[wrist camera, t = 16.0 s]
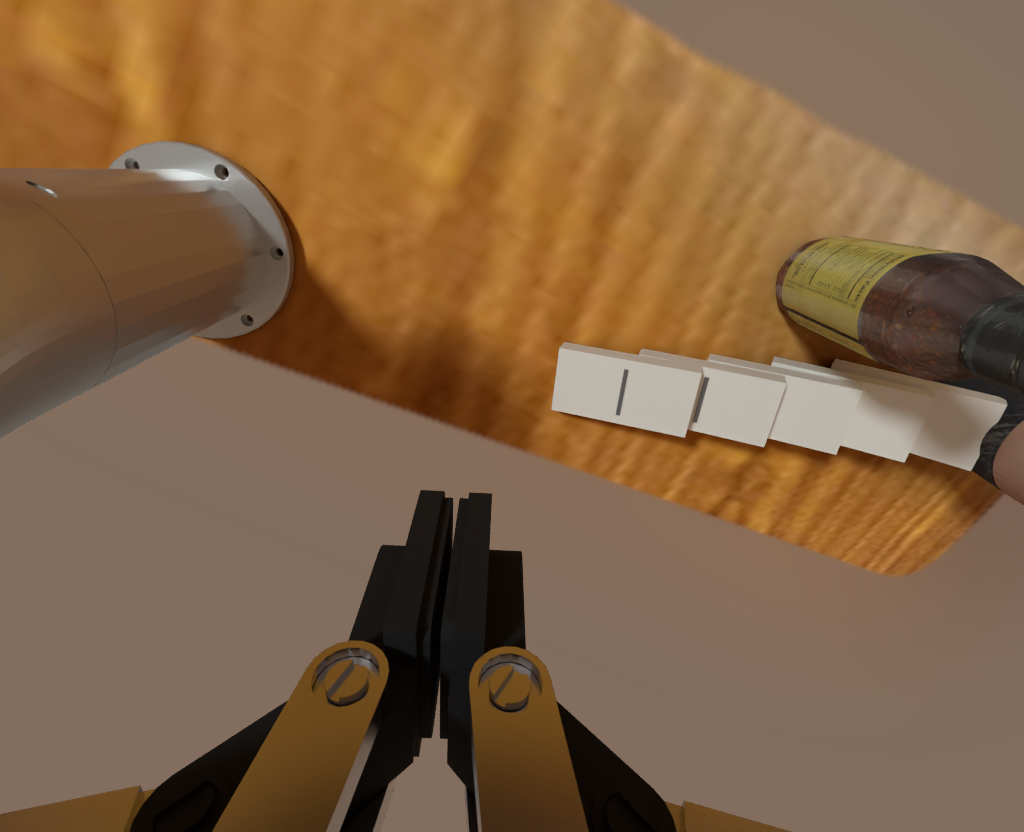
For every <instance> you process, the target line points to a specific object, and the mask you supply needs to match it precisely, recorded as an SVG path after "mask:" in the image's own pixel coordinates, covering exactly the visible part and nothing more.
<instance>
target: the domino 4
mask: <svg viewBox="0 0 1024 832" xmlns="http://www.w3.org/2000/svg"><path fill="white" fill-rule="evenodd" d="M771 366H775V367H780V368H785V369H790V370H795V371H800V372H805V373H810V374H815V375H821V376H826V377H831V378H836V379H841V380H846V381H851V382H856V383H860V385H861V388H862V390H863V392H862V394H861V397H860V399H859V401H858V404H857V406H856V409H855V411H854V413H853V416H852V418H851V421H850V423H849V425H848V428H847V430H846V432H845V435H844V437H843V440H842V442H841V444H840V445H841V446H844V447H848V448H852V449H856V450H859V451H863V452H867V453H870V454H874V455H878V456H881V457H885V458H889V459H892V460H896V461H900V462H903V463H905V461H906V458H907V456H908V454H909V452H910V450H911V448H912V446H913V444H914V442H915V440H916V438H917V436H918V434H919V432H920V430H921V428H922V426H923V424H924V422H925V420H926V418H927V416H928V414H929V412H930V410H931V408H932V406H933V404H934V402H935V400H936V396H935V394H934V392H933V391H932V390H928V389H923V388H918V387H914V386H909V385H904V384H900V383H895V382H891V381H886V380H881V379H877V378H872V377H867V376H863V375H858V374H853V373H849V372H844V371H840V370H835V369H830V368H826V367H821V366H816V365H812V364H807V363H802V362H798V361H793V360H788V359H784V358H779V357H775V356H774V359H773V361H772V364H771Z"/></svg>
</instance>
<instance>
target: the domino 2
mask: <svg viewBox="0 0 1024 832" xmlns="http://www.w3.org/2000/svg"><path fill="white" fill-rule="evenodd" d="M639 355H641V356H646V357H652V358H658V359H664V360H669V361H675V362H681V363H686V364H692V365H698V366H702V376H701V379H700V383H699V387H698V391H697V395H696V398H695V402H694V406H693V410H692V413H691V417H690V421H689V425H688V428H687V430H692V431H696V432H700V433H705V434H709V435H713V436H718V437H722V438H726V439H730V440H735V441H739V442H743V443H748V444H752V445H756V446H760V447H764V446H765V444H766V441H767V438H768V435H769V432H770V430H771V427H772V424H773V421H774V418H775V415H776V413H777V410H778V407H779V404H780V401H781V398H782V396H783V393H784V390H785V387H786V384H787V382H786V379H785V376H783V375H778V374H772V373H767V372H762V371H757V370H752V369H746V368H741V367H736V366H731V365H726V364H720V363H715V362H710V361H705V360H700V359H694V358H689V357H684V356H679V355H674V354H668V353H663V352H658V351H653V350H648V349H641V351H640V353H639Z"/></svg>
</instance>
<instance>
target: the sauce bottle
mask: <svg viewBox="0 0 1024 832" xmlns="http://www.w3.org/2000/svg"><path fill="white" fill-rule="evenodd" d="M776 295H777V301H778V305H779V307H780V308H781V309H782V311H783V312H784V313H785V314H787V315H788V316H789V317H791V318H792V319H793V320H794V321H795V322H797V323H798V324H799V325H801V326H803V327H805V328H807V329H810V330H812V331H814V332H816V333H818V334H820V335H822V336H824V337H826V338H828V339H830V340H832V341H835V342H837V343H839V344H841V345H843V346H845V347H847V348H849V349H851V350H853V351H855V352H857V353H859V354H861V355H864V356H866V357H868V358H870V359H872V360H874V361H876V362H878V363H881V364H883V365H886V366H889V367H894V368H896V369H898V370H900V371H902V372H904V373H906V374H908V375H910V376H913V377H916V378H920V379H924V380H929V381H933V380H943V381H951V382H955V381H959V380H964V379H968V378H978V379H980V380H983V381H986V382H990V383H995V384H998V385H1000V386H1002V387H1005V388H1008V389H1010V390H1013V391H1016V392H1018V393H1021V394H1022V395H1023V396H1024V286H1023V285H1022V284H1020V283H1019V282H1018V281H1016V280H1015V279H1014V278H1012V277H1011V276H1010V275H1008V274H1007V273H1006V272H1004V271H1003V270H1002V269H1000V268H999V267H998V266H996V265H995V264H993V263H992V262H990V261H988V260H986V259H983V258H981V257H978V256H974V255H969V254H963V253H956V252H950V251H942V250H935V249H927V248H922V247H914V246H907V245H900V244H894V243H887V242H881V241H874V240H867V239H860V238H853V237H845V236H837V237H830V238H824V239H818V240H814V241H811V242H808V243H806V244H804V245H803V246H802V247H801V248H799V249H798V250H797V251H796V252H794V253H793V254H792V255H791V257H789V259H788V260H787V261H786V262H785V263H784V265H783V267H782V268H781V269H780V271H779V273H778V277H777V283H776Z"/></svg>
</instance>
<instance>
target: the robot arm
mask: <svg viewBox="0 0 1024 832" xmlns="http://www.w3.org/2000/svg"><path fill="white" fill-rule="evenodd" d="M138 164H139V167H138ZM226 168H227V169H228V172H229V176H228V175H227V174H226V173H225V169H226ZM279 248H280V249H281V250H282V251H283V255H281V254H280V253H279ZM294 266H295V265H294V252H293V245H292V241H291V237H290V234H289V230H288V227H287V225H286V223H285V221H284V218H283V216H282V214H281V212H280V210H279V208H278V207H277V205H276V204H275V202H274V201H273V199H272V198H271V196H270V195H269V193H268V192H267V191H266V190H265V189H264V187H263V186H262V185H261V184H260V183H259V182H258V181H257V180H256V179H255V177H253V176H252V175H251V174H250V173H249V172H247V171H246V170H245V169H244V168H242V167H241V166H240V165H239V164H238V163H236V162H234V161H232V160H231V159H229V158H227V157H226V156H224V155H222V154H220V153H219V152H216V151H213V150H211V149H208V148H205V147H203V146H200V145H195V144H189V143H183V142H169V141H160V142H153V143H146V144H142V145H140V146H137V147H135V148H133V149H130V150H128V151H126V152H125V153H124V154H122V155H121V156H120V157H119V158H117V159H116V160H115V161H113V163H112V164H111V165H110V167H109V168H108V169H50V168H0V439H1V438H2V437H4V436H6V435H7V434H9V433H10V432H12V431H14V430H15V429H17V428H19V427H21V426H22V425H24V424H26V423H28V422H29V421H31V420H33V419H35V418H37V417H38V416H40V415H42V414H44V413H46V412H48V411H49V410H51V409H53V408H55V407H57V406H59V405H61V404H63V403H64V402H66V401H68V400H70V399H72V398H74V397H76V396H78V395H81V394H82V393H84V392H86V391H88V390H90V389H92V388H94V387H96V386H98V385H100V384H102V383H103V382H105V381H107V380H109V379H111V378H113V377H115V376H117V375H119V374H121V373H123V372H125V371H127V370H128V369H130V368H132V367H134V366H136V365H138V364H140V363H142V362H144V361H145V360H147V359H149V358H151V357H153V356H155V355H157V354H159V353H161V352H163V351H165V350H167V349H169V348H170V347H172V346H174V345H176V344H178V343H180V342H182V341H184V340H186V339H188V338H190V337H191V336H193V335H194V336H199V337H206V338H231V337H235V336H240V335H244V334H246V333H248V332H251V331H253V330H255V329H257V328H259V327H260V326H262V325H263V324H265V323H266V322H268V321H269V320H270V319H271V318H272V317H273V316H274V315H275V314H276V313H277V312H278V311H279V310H280V309H281V307H282V305H283V304H284V302H285V300H286V299H287V297H288V294H289V291H290V288H291V285H292V282H293V274H294ZM250 316H251V317H252V318H253V320H252V319H251V318H250ZM491 503H492V494H488V493H469V499H465V498H460V501H459V507H458V514H457V521H456V528H455V536H454V542H453V548H452V535H453V498H445V492H444V491H426V490H421V492H420V495H419V498H418V502H417V506H416V509H415V513H414V517H413V520H412V524H411V528H410V531H409V535H408V539H407V542H406V546H394V545H392V546H391V545H382V546H381V548H380V550H379V552H378V555H377V558H376V561H375V564H374V567H373V570H372V573H371V576H370V579H369V582H368V585H367V588H366V591H365V594H364V597H363V600H362V603H361V605H360V608H359V611H358V614H357V617H356V621H355V623H354V626H353V629H352V632H351V635H350V638H349V641H347V642H342V643H338V644H336V645H333V646H331V647H329V648H327V649H325V650H324V651H323V652H321V653H320V654H319V655H318V656H316V657H315V658H314V659H313V661H312V662H311V663H310V665H309V666H308V667H307V669H306V670H305V672H304V674H303V675H302V677H301V679H300V681H299V682H298V684H297V686H296V688H295V689H294V691H293V693H292V695H291V696H290V698H289V700H288V701H286V702H285V703H283V704H282V705H280V706H279V707H277V708H275V709H274V710H272V711H271V712H269V713H268V714H266V715H265V716H263V717H262V718H260V719H258V720H257V721H255V722H254V723H253V724H251V725H249V726H248V727H246V728H245V729H243V730H242V731H240V732H239V733H237V734H235V735H234V736H232V737H231V738H229V739H228V740H226V741H225V742H223V743H222V744H220V745H218V746H217V747H215V748H214V749H212V750H211V751H210V752H208V753H206V754H205V755H203V756H202V757H200V758H198V759H197V760H195V761H194V762H192V763H191V764H189V765H188V766H186V767H185V768H183V769H182V770H180V771H178V772H177V773H175V774H174V775H172V776H171V777H170V778H169V779H167V780H166V781H165V782H164V783H162V784H161V785H160V786H159V787H157V788H156V789H153V790H148V791H144V792H143V790H142V788H141V786H135V787H130V788H125V789H120V790H116V791H110V792H106V793H101V794H96V795H91V796H86V797H82V798H76V799H72V800H67V801H62V802H57V803H53V804H47V805H43V806H38V807H33V808H29V809H23V810H18V811H13V812H8V813H4V814H0V832H380V831H381V827H382V825H383V822H384V819H385V815H386V812H387V809H388V806H389V803H390V800H391V797H392V794H393V791H394V785H395V779H396V777H397V776H398V775H399V774H400V773H401V772H402V771H404V770H405V769H406V768H407V767H408V766H409V765H411V763H413V758H414V756H417V757H418V756H419V753H420V746H421V740H422V738H432V733H433V726H434V719H435V711H436V704H437V696H438V689H439V681H440V738H441V739H448V753H447V763H448V765H449V766H450V767H451V768H452V770H453V771H454V772H455V773H456V775H457V776H458V777H459V778H460V780H461V781H462V782H463V783H464V784H465V807H466V822H467V832H791V831H787V830H784V829H780V828H776V827H773V826H770V825H767V824H763V823H760V822H756V821H753V820H749V819H746V818H742V817H739V816H735V815H732V814H728V813H725V812H722V811H718V810H715V809H711V808H708V807H704V806H701V805H697V804H694V803H691V802H687V801H684V802H683V804H682V806H679V805H675V804H672V803H668V802H665V801H663V799H662V798H661V797H660V796H659V795H658V794H657V793H656V791H655V790H654V789H653V788H652V787H651V786H650V785H649V784H647V783H646V782H645V781H644V780H643V779H642V778H641V777H640V776H639V775H637V774H636V773H635V772H634V771H633V770H632V769H631V768H630V767H629V766H628V765H627V764H625V763H624V762H623V761H622V760H621V759H620V758H619V757H618V756H617V755H616V754H614V753H613V752H612V751H611V750H610V749H609V748H608V747H607V746H606V745H605V744H603V743H602V742H601V741H600V740H599V739H598V738H597V737H596V736H595V735H594V734H592V733H591V732H590V731H589V730H588V729H587V728H586V727H585V726H584V725H583V724H581V723H580V722H579V721H578V720H577V719H576V718H575V717H574V716H572V715H571V714H570V713H569V712H568V711H567V710H566V709H565V708H564V707H563V706H562V705H561V704H559V703H558V702H557V701H556V698H555V694H554V690H553V686H552V681H551V677H550V675H549V673H548V670H547V668H546V666H545V665H544V664H543V663H542V661H541V660H540V659H539V658H538V657H537V656H535V655H534V654H532V653H530V652H529V651H527V650H526V644H525V619H524V593H523V566H522V552H521V551H503V550H489V544H490V523H491Z"/></svg>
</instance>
